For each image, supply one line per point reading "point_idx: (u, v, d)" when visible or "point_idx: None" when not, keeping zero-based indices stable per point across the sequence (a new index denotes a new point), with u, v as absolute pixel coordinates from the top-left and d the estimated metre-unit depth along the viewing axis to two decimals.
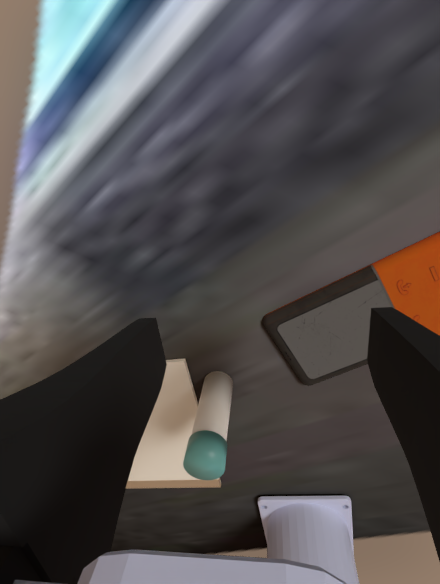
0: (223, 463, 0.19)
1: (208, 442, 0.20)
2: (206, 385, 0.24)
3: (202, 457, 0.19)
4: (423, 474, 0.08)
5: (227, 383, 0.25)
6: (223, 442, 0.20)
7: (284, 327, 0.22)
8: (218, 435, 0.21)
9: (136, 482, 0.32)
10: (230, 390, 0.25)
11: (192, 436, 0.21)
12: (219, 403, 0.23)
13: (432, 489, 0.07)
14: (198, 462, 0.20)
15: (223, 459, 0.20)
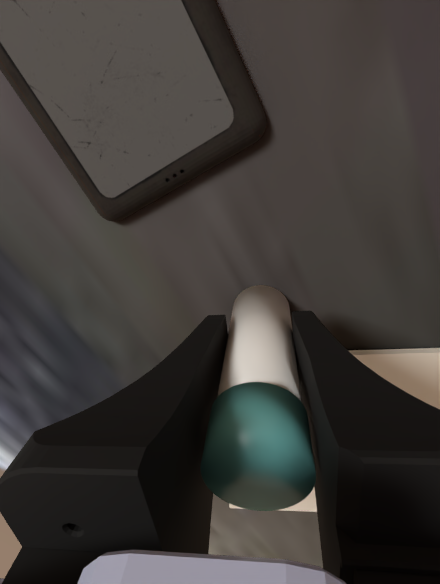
0: (245, 432, 0.07)
1: (207, 433, 0.08)
2: None
3: (220, 470, 0.07)
4: None
5: (240, 303, 0.12)
6: (234, 394, 0.08)
7: (107, 183, 0.11)
8: (224, 393, 0.08)
9: None
10: (251, 300, 0.12)
11: None
12: (229, 344, 0.11)
13: (317, 485, 0.08)
14: (241, 482, 0.07)
15: (241, 425, 0.07)
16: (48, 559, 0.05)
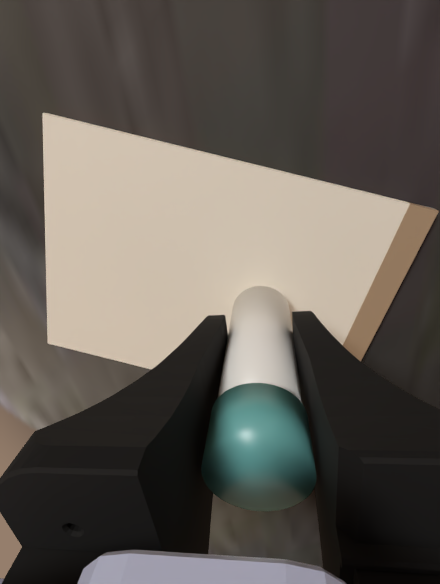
0: (245, 433, 0.07)
1: (207, 435, 0.08)
2: None
3: (221, 472, 0.07)
4: None
5: (239, 304, 0.12)
6: (234, 395, 0.08)
7: None
8: (223, 395, 0.08)
9: None
10: (250, 301, 0.12)
11: None
12: (228, 345, 0.11)
13: (317, 485, 0.08)
14: (242, 483, 0.07)
15: (240, 426, 0.07)
16: (48, 559, 0.05)
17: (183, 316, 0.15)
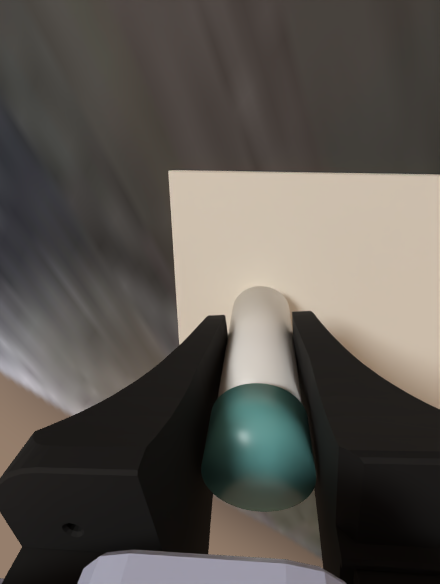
0: (244, 433, 0.07)
1: (207, 435, 0.08)
2: None
3: (221, 472, 0.07)
4: None
5: (239, 304, 0.12)
6: (233, 395, 0.08)
7: None
8: (223, 395, 0.08)
9: None
10: (250, 302, 0.12)
11: None
12: (228, 345, 0.11)
13: (317, 485, 0.08)
14: (242, 483, 0.07)
15: (240, 426, 0.07)
16: (48, 559, 0.05)
17: None
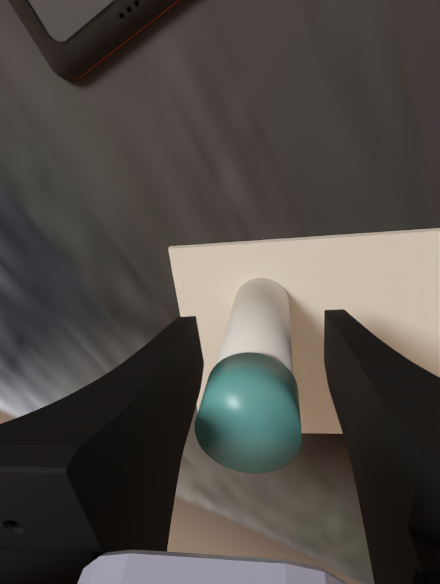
0: (234, 390, 0.07)
1: (202, 399, 0.08)
2: None
3: (213, 430, 0.08)
4: (359, 472, 0.08)
5: (240, 293, 0.13)
6: (227, 362, 0.09)
7: (56, 24, 0.10)
8: (218, 364, 0.09)
9: None
10: (250, 290, 0.13)
11: None
12: (227, 326, 0.11)
13: (364, 487, 0.08)
14: (232, 442, 0.08)
15: (230, 385, 0.08)
16: None
17: (324, 380, 0.16)
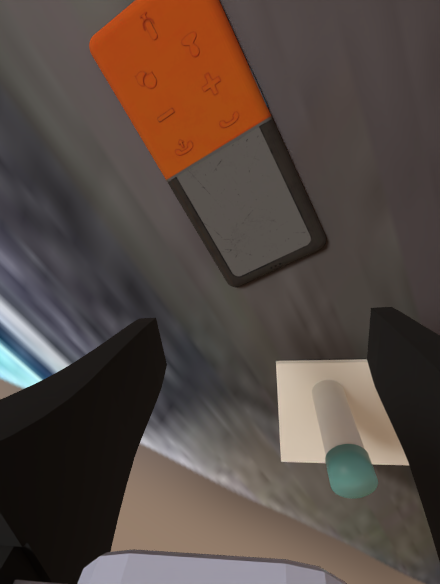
0: (350, 467, 0.18)
1: (329, 467, 0.19)
2: None
3: (339, 482, 0.18)
4: (423, 474, 0.08)
5: (319, 392, 0.23)
6: (339, 449, 0.19)
7: (237, 269, 0.21)
8: (332, 448, 0.19)
9: None
10: (327, 391, 0.23)
11: None
12: (322, 419, 0.22)
13: (432, 489, 0.07)
14: (347, 486, 0.18)
15: (347, 464, 0.18)
16: None
17: (362, 434, 0.26)
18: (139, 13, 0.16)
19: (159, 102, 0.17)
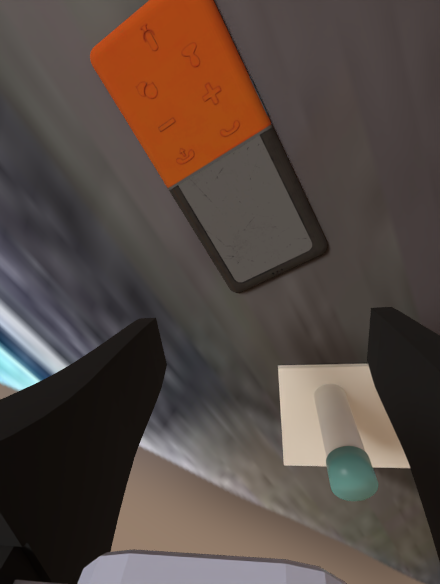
0: (350, 469, 0.18)
1: (329, 469, 0.19)
2: None
3: (339, 484, 0.18)
4: (423, 474, 0.08)
5: (321, 396, 0.24)
6: (339, 451, 0.19)
7: (239, 275, 0.21)
8: (332, 451, 0.19)
9: None
10: (328, 395, 0.23)
11: None
12: (323, 422, 0.22)
13: (432, 489, 0.07)
14: (347, 489, 0.18)
15: (347, 466, 0.18)
16: None
17: (364, 437, 0.26)
18: (139, 25, 0.16)
19: (160, 112, 0.17)
